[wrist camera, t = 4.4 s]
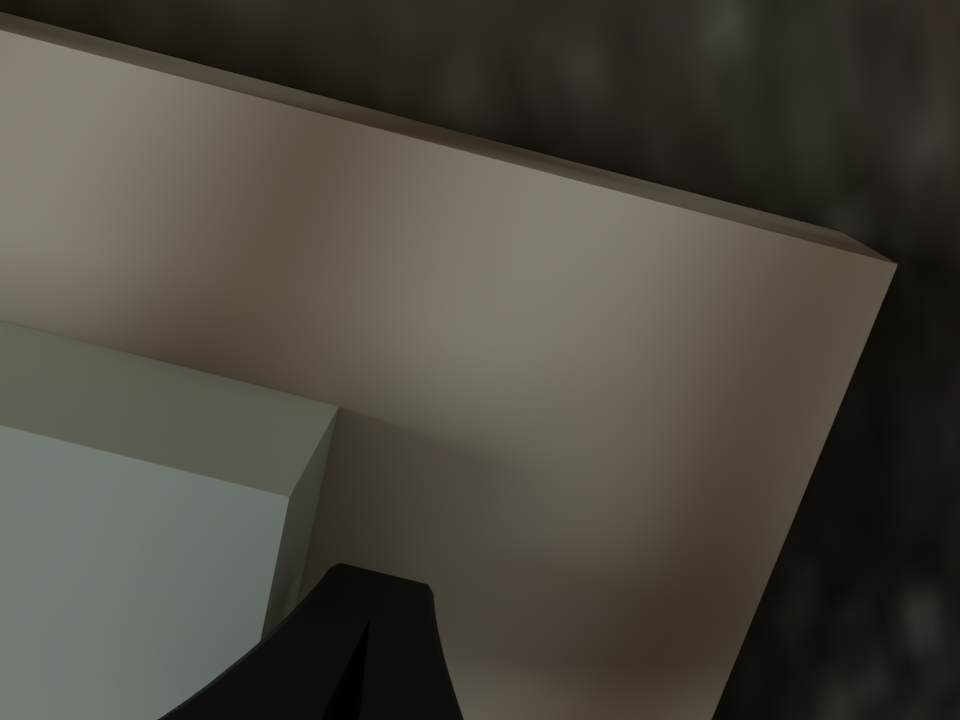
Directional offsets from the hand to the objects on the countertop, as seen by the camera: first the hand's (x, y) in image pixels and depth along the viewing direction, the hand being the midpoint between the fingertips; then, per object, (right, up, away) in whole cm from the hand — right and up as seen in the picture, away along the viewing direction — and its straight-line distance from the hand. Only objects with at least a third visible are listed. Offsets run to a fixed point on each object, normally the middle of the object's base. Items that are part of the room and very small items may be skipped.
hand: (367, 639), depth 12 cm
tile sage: (-3, +1, +1) cm, 4 cm away
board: (-2, +1, +3) cm, 4 cm away
